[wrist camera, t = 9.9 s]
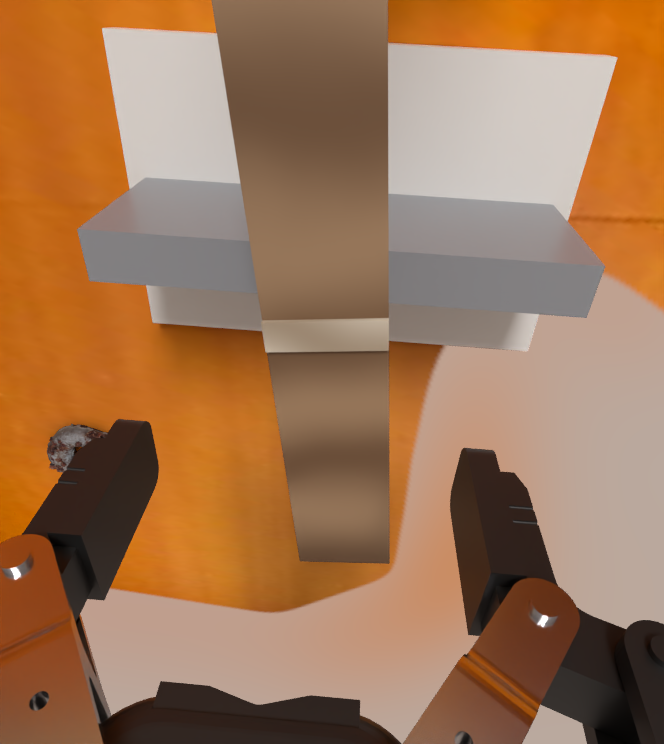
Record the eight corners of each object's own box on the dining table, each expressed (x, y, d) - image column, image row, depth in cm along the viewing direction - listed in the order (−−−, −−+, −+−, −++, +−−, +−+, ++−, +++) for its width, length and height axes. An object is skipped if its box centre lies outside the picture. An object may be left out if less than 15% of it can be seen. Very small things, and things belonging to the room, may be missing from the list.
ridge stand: (158, 313, 35) (99, 398, 28) (112, 27, 26) (4, 38, 19) (523, 341, 34) (563, 436, 27) (608, 55, 25) (704, 78, 18)
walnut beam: (234, -134, 16) (180, -184, 11) (385, -149, 15) (387, -208, 11) (310, 485, 30) (299, 564, 26) (388, 486, 30) (389, 567, 26)
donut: (159, 467, 45) (151, 486, 43) (90, 489, 47) (79, 508, 45) (94, 395, 40) (82, 413, 39) (21, 424, 43) (7, 442, 41)
